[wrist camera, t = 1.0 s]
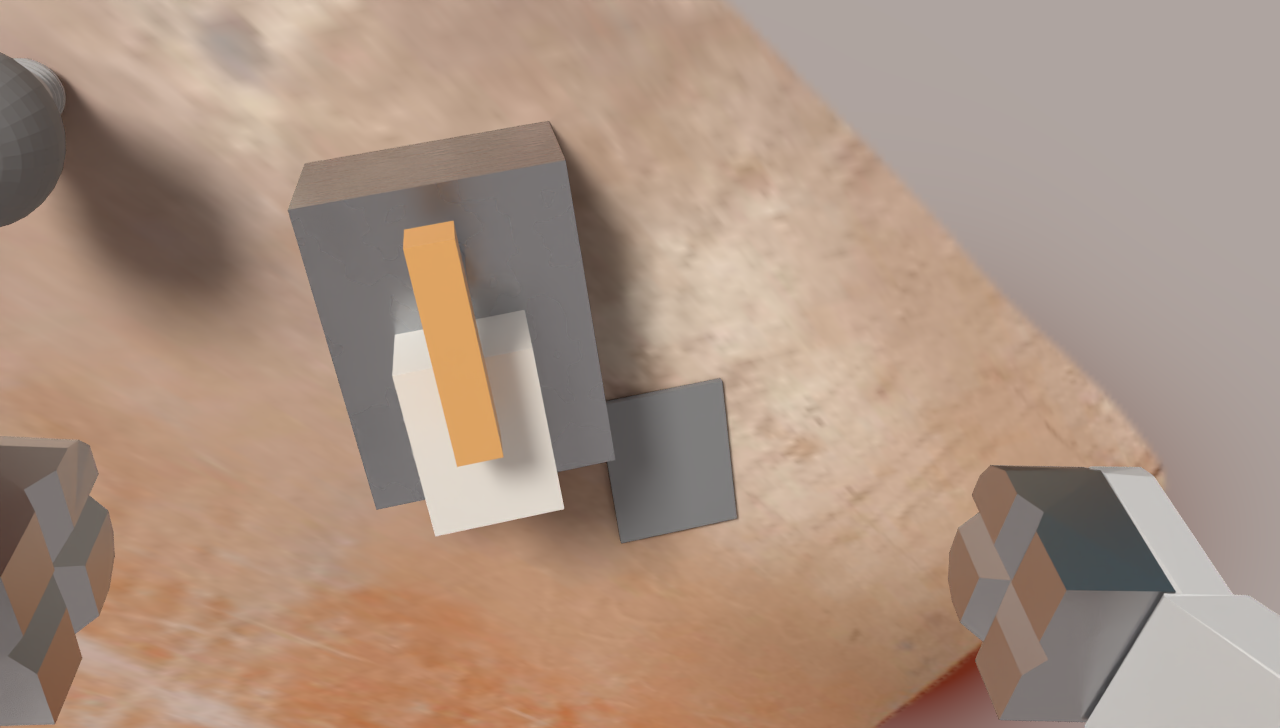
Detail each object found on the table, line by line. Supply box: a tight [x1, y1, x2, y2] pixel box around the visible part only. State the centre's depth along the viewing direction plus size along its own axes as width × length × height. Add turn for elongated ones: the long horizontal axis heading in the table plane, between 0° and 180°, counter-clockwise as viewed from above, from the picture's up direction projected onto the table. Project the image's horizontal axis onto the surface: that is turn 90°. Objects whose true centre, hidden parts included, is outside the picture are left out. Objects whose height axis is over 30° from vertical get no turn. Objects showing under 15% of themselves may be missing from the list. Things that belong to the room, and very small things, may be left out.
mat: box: [606, 378, 737, 543], centre depth 52 cm, size 8×6×1 cm
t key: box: [403, 221, 503, 467], centre depth 38 cm, size 8×2×6 cm, turn 8°
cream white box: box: [392, 310, 564, 536], centre depth 41 cm, size 7×5×4 cm
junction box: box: [288, 121, 615, 509], centre depth 44 cm, size 13×10×6 cm
